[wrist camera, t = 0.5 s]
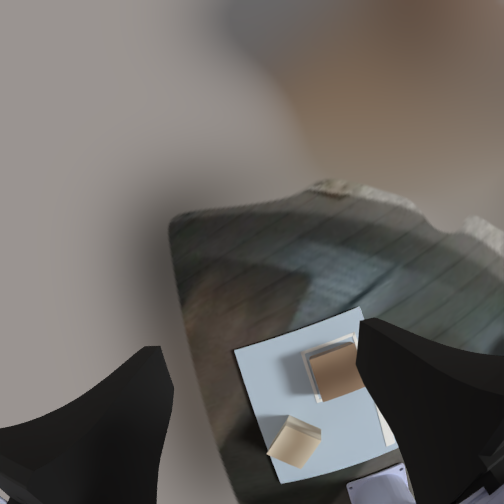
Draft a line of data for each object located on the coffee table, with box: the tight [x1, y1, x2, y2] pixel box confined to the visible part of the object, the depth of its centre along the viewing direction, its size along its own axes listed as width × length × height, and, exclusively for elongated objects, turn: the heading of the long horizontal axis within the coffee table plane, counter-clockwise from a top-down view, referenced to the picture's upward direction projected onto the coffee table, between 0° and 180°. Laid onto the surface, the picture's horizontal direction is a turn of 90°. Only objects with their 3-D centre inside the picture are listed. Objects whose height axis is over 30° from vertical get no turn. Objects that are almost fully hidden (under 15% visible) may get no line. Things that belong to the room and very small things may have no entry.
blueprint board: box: [234, 307, 398, 484], centre depth 28 cm, size 20×16×1 cm
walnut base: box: [309, 342, 365, 402], centre depth 27 cm, size 5×5×4 cm
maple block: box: [267, 415, 321, 469], centre depth 26 cm, size 4×4×4 cm
